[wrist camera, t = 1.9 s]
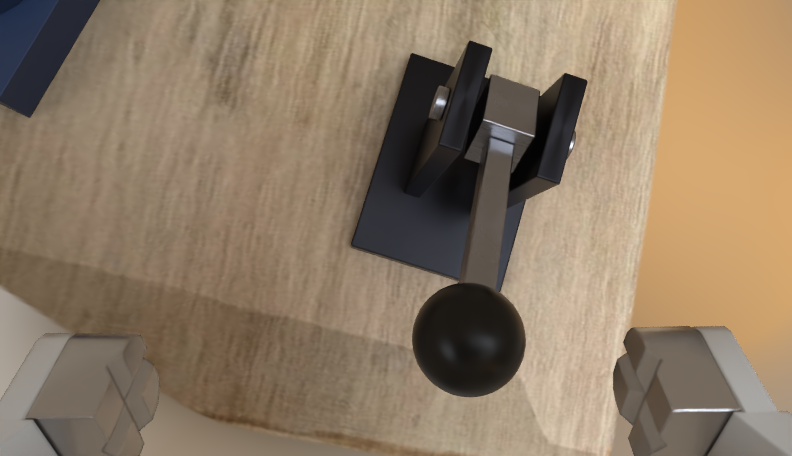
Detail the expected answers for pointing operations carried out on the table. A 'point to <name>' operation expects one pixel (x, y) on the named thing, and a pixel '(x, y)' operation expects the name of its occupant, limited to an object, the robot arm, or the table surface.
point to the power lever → (481, 258)
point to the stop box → (36, 46)
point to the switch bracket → (453, 164)
